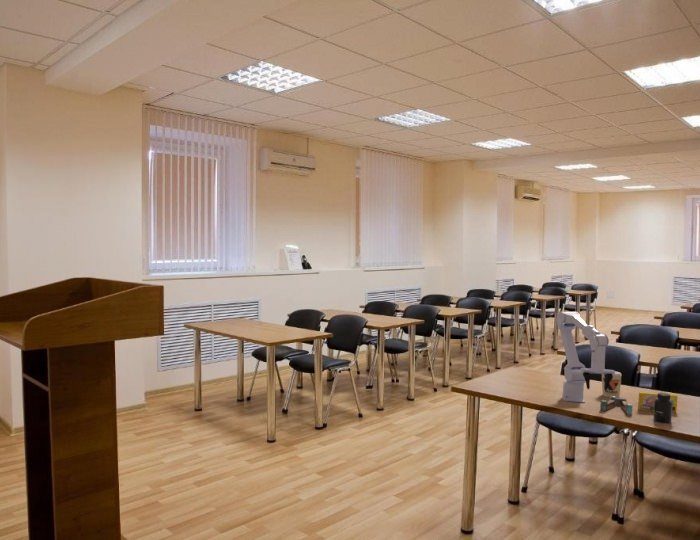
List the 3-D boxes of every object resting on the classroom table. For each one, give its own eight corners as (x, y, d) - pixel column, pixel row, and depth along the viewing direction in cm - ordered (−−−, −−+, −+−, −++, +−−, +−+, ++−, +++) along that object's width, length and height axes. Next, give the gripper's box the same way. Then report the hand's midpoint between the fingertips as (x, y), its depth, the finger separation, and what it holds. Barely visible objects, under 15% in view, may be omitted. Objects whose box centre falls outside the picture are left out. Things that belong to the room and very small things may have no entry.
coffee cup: (600, 396, 275) (601, 373, 275) (601, 392, 283) (601, 369, 283) (621, 398, 271) (621, 374, 271) (621, 394, 279) (621, 371, 279)
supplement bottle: (654, 422, 235) (656, 394, 234) (652, 417, 241) (653, 391, 241) (672, 424, 232) (674, 396, 232) (669, 420, 239) (671, 393, 238)
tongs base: (616, 413, 246) (616, 403, 246) (609, 403, 263) (609, 394, 263) (633, 415, 244) (633, 405, 244) (625, 404, 261) (625, 395, 261)
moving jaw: (600, 410, 250) (600, 401, 250) (610, 405, 259) (611, 396, 259) (604, 411, 249) (605, 401, 249) (615, 406, 257) (615, 397, 257)
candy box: (639, 410, 253) (640, 392, 252) (637, 409, 255) (638, 391, 254) (676, 413, 250) (677, 395, 250) (674, 411, 252) (675, 394, 252)
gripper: (583, 360, 248) (582, 390, 249) (617, 362, 245) (616, 392, 246) (579, 357, 255) (578, 386, 255) (612, 359, 252) (611, 388, 253)
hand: (596, 389), depth 251 cm, fingers open, 7 cm apart
